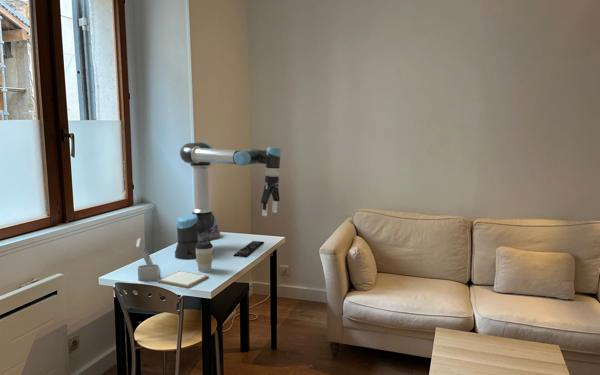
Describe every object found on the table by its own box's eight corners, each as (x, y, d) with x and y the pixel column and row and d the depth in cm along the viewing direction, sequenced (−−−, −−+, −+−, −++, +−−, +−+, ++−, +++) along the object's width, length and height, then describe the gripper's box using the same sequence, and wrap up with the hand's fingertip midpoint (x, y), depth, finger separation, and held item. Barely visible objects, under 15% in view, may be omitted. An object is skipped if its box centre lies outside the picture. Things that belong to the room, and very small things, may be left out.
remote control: (233, 257, 260) (233, 254, 259) (252, 243, 290) (252, 240, 290) (245, 258, 258) (245, 255, 257) (263, 244, 288) (263, 241, 288)
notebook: (157, 282, 217) (157, 280, 217) (179, 272, 231) (179, 270, 231) (187, 288, 209) (187, 285, 209) (208, 277, 224) (208, 275, 224)
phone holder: (159, 279, 221) (157, 243, 219) (137, 281, 218) (135, 245, 216) (159, 268, 238) (158, 235, 235) (139, 270, 235) (137, 236, 232)
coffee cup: (198, 273, 230) (197, 245, 227) (193, 268, 237) (193, 241, 235) (215, 271, 234) (215, 243, 231) (210, 266, 242) (210, 239, 239)
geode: (207, 243, 288) (204, 228, 286) (192, 244, 292) (189, 229, 291) (223, 235, 306) (221, 220, 305) (209, 235, 311) (207, 221, 309)
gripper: (269, 177, 232) (266, 218, 234) (286, 175, 256) (284, 212, 258) (256, 176, 235) (253, 216, 237) (274, 174, 258) (272, 210, 260)
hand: (269, 214), depth 247 cm, fingers open, 13 cm apart
